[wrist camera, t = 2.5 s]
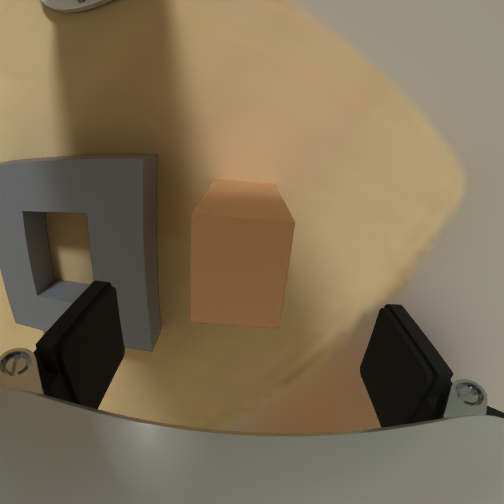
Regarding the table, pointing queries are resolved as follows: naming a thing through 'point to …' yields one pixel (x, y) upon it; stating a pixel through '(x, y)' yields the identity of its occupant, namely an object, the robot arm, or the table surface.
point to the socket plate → (100, 237)
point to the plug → (239, 254)
